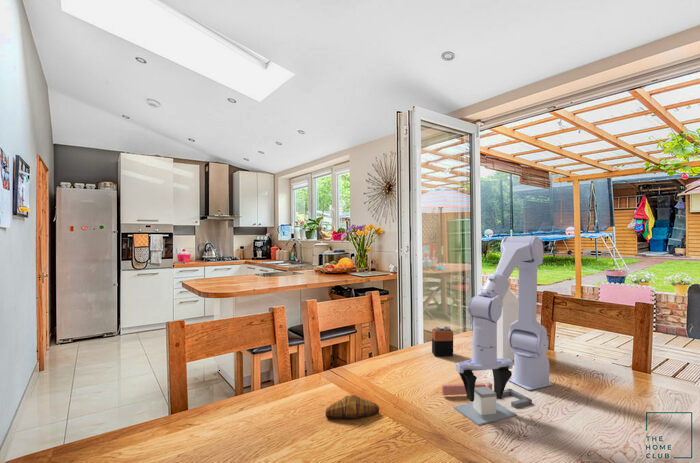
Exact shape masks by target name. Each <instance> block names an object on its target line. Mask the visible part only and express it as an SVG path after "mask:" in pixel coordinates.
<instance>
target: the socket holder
mask: <svg viewBox="0 0 700 463" xmlns="http://www.w3.org/2000/svg"><path fill="white" fill-rule="evenodd" d="M507 396H512V397H514V398H516V399H518V400H513V401H511V403H510V405H511V407H513V408H514V409H515V408H520V407H524V406H528V405H532V404H533V399H531V398H530V397H527V396H525V395H523V394H522V393H520V392H518V391H516V390H514V389H512V388H507V389H504V392H503V395H502V398H503V397H507ZM497 398H498V397H496V399H497ZM498 399H499V398H498Z"/></svg>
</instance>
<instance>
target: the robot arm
mask: <svg viewBox="0 0 700 463" xmlns="http://www.w3.org/2000/svg"><path fill="white" fill-rule="evenodd" d="M543 244H544V243H543V242H542V240H541V238H540V237H539V236H509V235H507V236H504V237H503V238H502V239H501V242H500V254H501V256H500V259H499V262H498V264H497V267H496V268H495V271H494V273H490V274H489V275H488V276H487V277H486V279H485V281H484V283H483V284H482V287H481V288H480V290H479V293H478V294H477V295H475V296H472V297H471V298H470V300H469V303H468V307H467V312H468V315H469V318H470V324H471V326H472V358H471V359H470V358H469V359H468V360H467V359H466V360H463V361H460V362H459V361H458V362H456V363H455V370H456V371H457V373H458V374H459V376H460V379H461V381H462V384H464V386H465V390H466V394H465V395H466V398H467V400H469V402H470V403H471V402H473V401H474V389H475V384H477V383H476V381H477V379H478V378H477V376H476V375H474V371H486V370H492V375H493V391H494V392H495V393H496V398H497V397H498V399H500V400H502V398H503V397H502V395H503V392H504V390H505V388H506V386H507V383H508V382H511V383H513V384H515V385H517V386H519V387H521V388H523V389H524V390H527V391H532V390H536V389H541V388H545V387H549V386H552V385H553V384H552V382H550V361H549V358H548V356H547V355H546V354H547V353H548V350H549V337H548V330H547V328H546V327H545V326H544V325H542V324H541V323H540V322H538V321H537V309H538V307H537V304H538V303H537V302H538V297H537V296H538V266H541V265H543V260H544V245H543ZM516 267H517V268H518V286H517V287H518V320H517V321H515V322H513V323H512V324H511V325H510V329H509V334H508V344H509V346H510V348H512V352H514V360H510V359H498V358H497V321H498V320H499V318H500V317H501V313H502V306H503V301H502V300H503V298H504V296H505V294H506V292H507V290H508V288H509V287H510V281H509V278H510V277H511V275H512V274H513V272H514V270H515V269H516ZM513 362H514V363H513ZM513 365H514V366H513ZM513 369H514V370H513ZM512 370H513V371H512ZM513 372H514V373H513ZM513 374H514V375H513Z"/></svg>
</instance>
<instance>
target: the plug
mask: <svg viewBox="0 0 700 463" xmlns="http://www.w3.org/2000/svg"><path fill="white" fill-rule="evenodd" d="M496 402H497V397H496V393H495V392H494V389H492V390H491V389H490V388H489V387H487V385H486V387H475V389H474V401H473V408H474V409H475V410H477V411H478V412H479V413H480V414H481V415H487V414H496Z"/></svg>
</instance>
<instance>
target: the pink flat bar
mask: <svg viewBox="0 0 700 463" xmlns="http://www.w3.org/2000/svg"><path fill="white" fill-rule="evenodd" d="M486 386H487V387H489V388H490V389H491V390H493V383H491V382H486V384H485V383H482V382H481V383H475V387H486ZM441 395H442V396H454V395H455V396H459V395H463V396H464V395H467V394H466V390H465V386H464V383H461V384H459V383H457V384H442V385H441Z"/></svg>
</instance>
